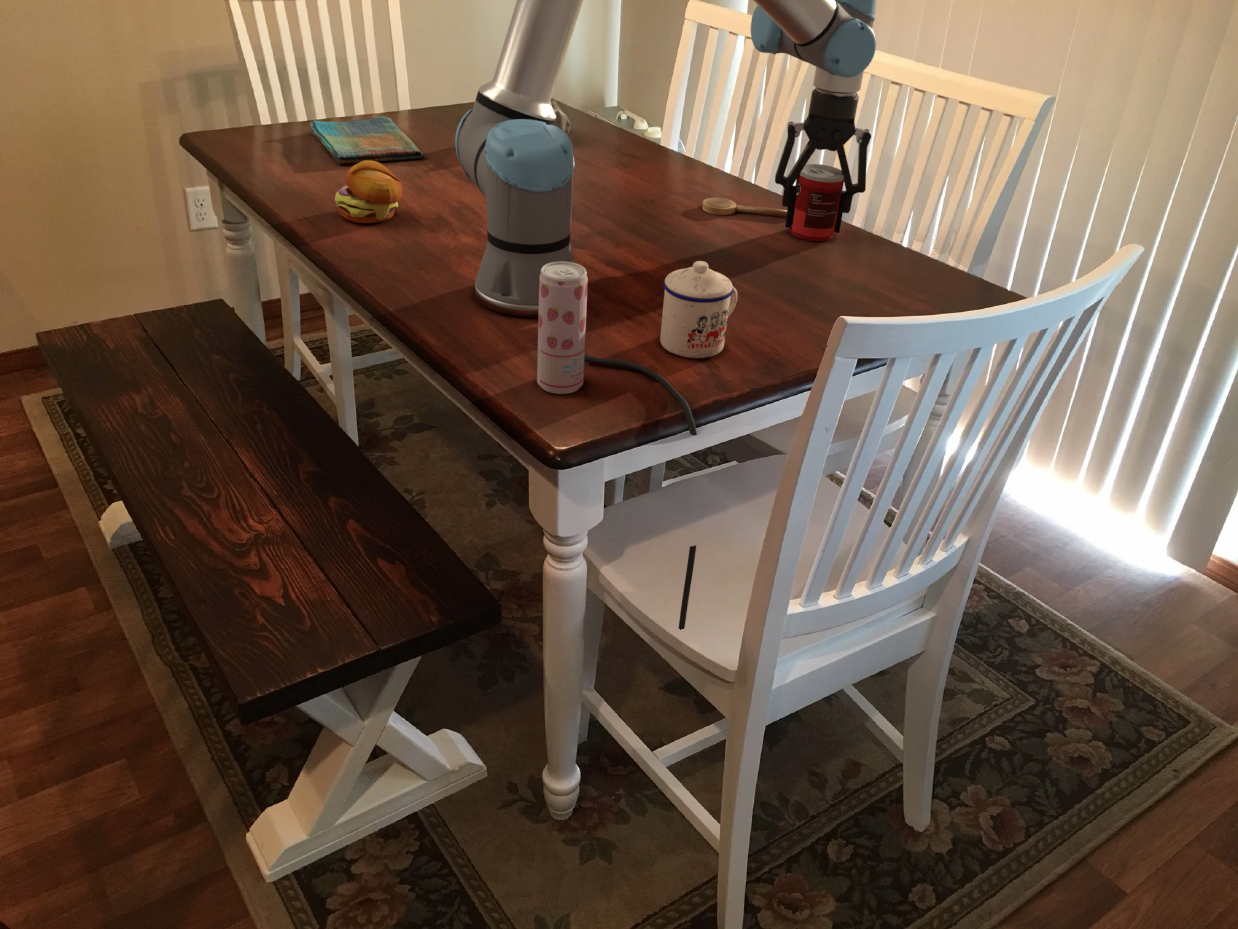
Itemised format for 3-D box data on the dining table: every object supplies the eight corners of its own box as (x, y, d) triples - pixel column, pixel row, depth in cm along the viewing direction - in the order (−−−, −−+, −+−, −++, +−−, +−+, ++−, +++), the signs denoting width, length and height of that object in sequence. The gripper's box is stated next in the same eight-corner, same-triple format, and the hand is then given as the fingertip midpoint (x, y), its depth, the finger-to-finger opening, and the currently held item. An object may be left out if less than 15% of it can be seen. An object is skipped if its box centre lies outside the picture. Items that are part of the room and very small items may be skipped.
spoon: (796, 212, 181) (797, 205, 181) (796, 223, 176) (797, 216, 176) (703, 202, 183) (704, 195, 182) (701, 213, 178) (701, 206, 177)
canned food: (805, 222, 177) (816, 160, 171) (842, 236, 172) (854, 173, 166) (779, 231, 172) (789, 168, 166) (816, 245, 168) (828, 181, 162)
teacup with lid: (690, 366, 128) (699, 282, 122) (644, 340, 134) (651, 258, 128) (754, 344, 135) (766, 263, 129) (708, 319, 141) (717, 240, 134)
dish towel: (391, 126, 211) (390, 114, 210) (425, 159, 194) (424, 146, 192) (309, 132, 204) (307, 119, 203) (336, 166, 187) (335, 152, 186)
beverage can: (567, 400, 119) (571, 283, 111) (528, 386, 122) (529, 271, 113) (591, 381, 124) (597, 268, 115) (553, 368, 126) (556, 256, 117)
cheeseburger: (363, 199, 172) (370, 145, 166) (410, 227, 170) (419, 174, 164) (321, 214, 165) (327, 158, 159) (370, 243, 162) (378, 188, 156)
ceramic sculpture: (533, 103, 200) (512, 89, 211) (533, 147, 204) (512, 131, 216) (583, 102, 203) (559, 88, 215) (581, 145, 208) (558, 130, 219)
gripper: (899, 91, 161) (870, 226, 174) (772, 79, 163) (753, 213, 176) (903, 102, 155) (873, 241, 168) (771, 89, 157) (751, 228, 169)
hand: (812, 227), depth 172 cm, fingers closed on canned food, 8 cm apart
